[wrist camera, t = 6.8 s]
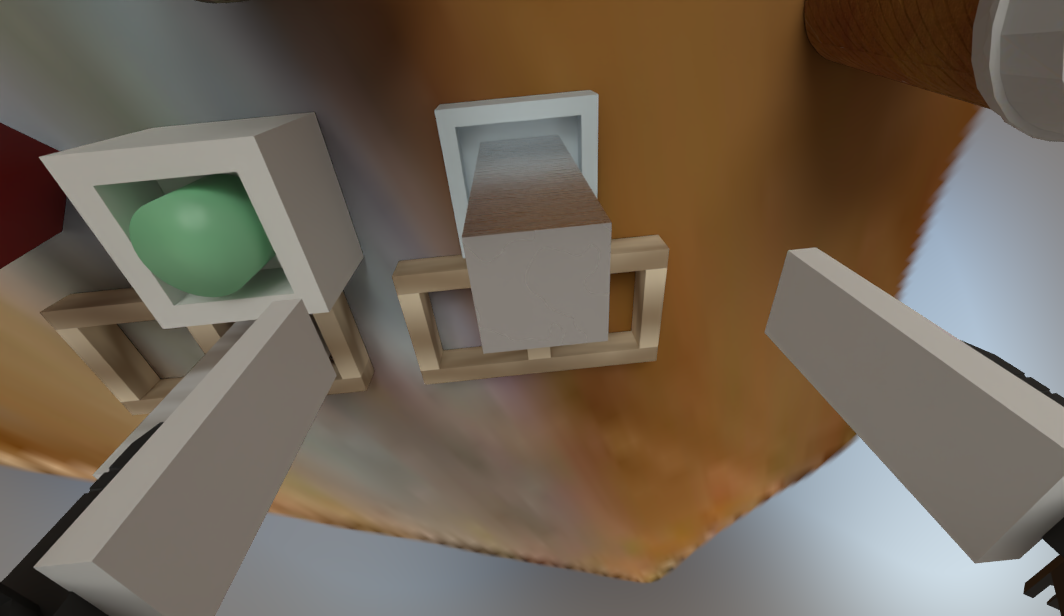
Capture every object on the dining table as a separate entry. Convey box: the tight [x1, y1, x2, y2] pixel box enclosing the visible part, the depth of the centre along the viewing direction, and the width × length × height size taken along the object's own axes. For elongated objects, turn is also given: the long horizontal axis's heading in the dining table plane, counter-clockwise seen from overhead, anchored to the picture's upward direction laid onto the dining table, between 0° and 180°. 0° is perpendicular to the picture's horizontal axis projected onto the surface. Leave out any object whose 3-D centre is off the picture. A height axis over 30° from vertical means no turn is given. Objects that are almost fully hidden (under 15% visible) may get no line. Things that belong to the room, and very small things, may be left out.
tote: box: [434, 90, 598, 258], centre depth 22 cm, size 8×8×2 cm
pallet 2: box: [392, 235, 669, 385], centre depth 27 cm, size 8×16×2 cm, turn 95°
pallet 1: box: [40, 288, 374, 480], centre depth 22 cm, size 8×16×12 cm, turn 95°
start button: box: [129, 174, 276, 297], centre depth 18 cm, size 4×4×4 cm
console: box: [39, 112, 364, 329], centre depth 20 cm, size 8×8×6 cm
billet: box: [462, 135, 612, 354], centre depth 17 cm, size 4×4×12 cm
